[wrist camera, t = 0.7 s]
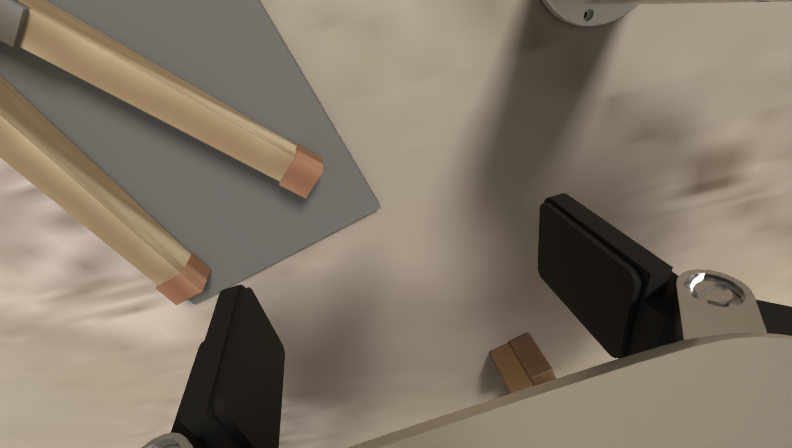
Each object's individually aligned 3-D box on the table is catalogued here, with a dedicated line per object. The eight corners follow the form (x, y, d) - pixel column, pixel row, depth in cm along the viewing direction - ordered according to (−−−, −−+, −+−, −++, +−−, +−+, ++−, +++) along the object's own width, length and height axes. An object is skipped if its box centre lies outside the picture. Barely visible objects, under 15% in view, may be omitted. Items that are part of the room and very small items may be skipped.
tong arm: (-120, -100, 19) (-197, -119, 16) (322, 158, 31) (323, 173, 28) (-131, -2, 21) (-203, -4, 18) (291, 206, 33) (289, 225, 30)
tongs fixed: (-82, -66, 20) (-148, -78, 18) (233, 256, 35) (226, 278, 32) (-154, -18, 21) (-231, -23, 18) (187, 280, 35) (176, 305, 33)
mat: (112, -251, 19) (103, -263, 18) (379, 203, 36) (380, 207, 35) (-199, -41, 21) (-220, -43, 20) (197, 298, 38) (194, 304, 37)
